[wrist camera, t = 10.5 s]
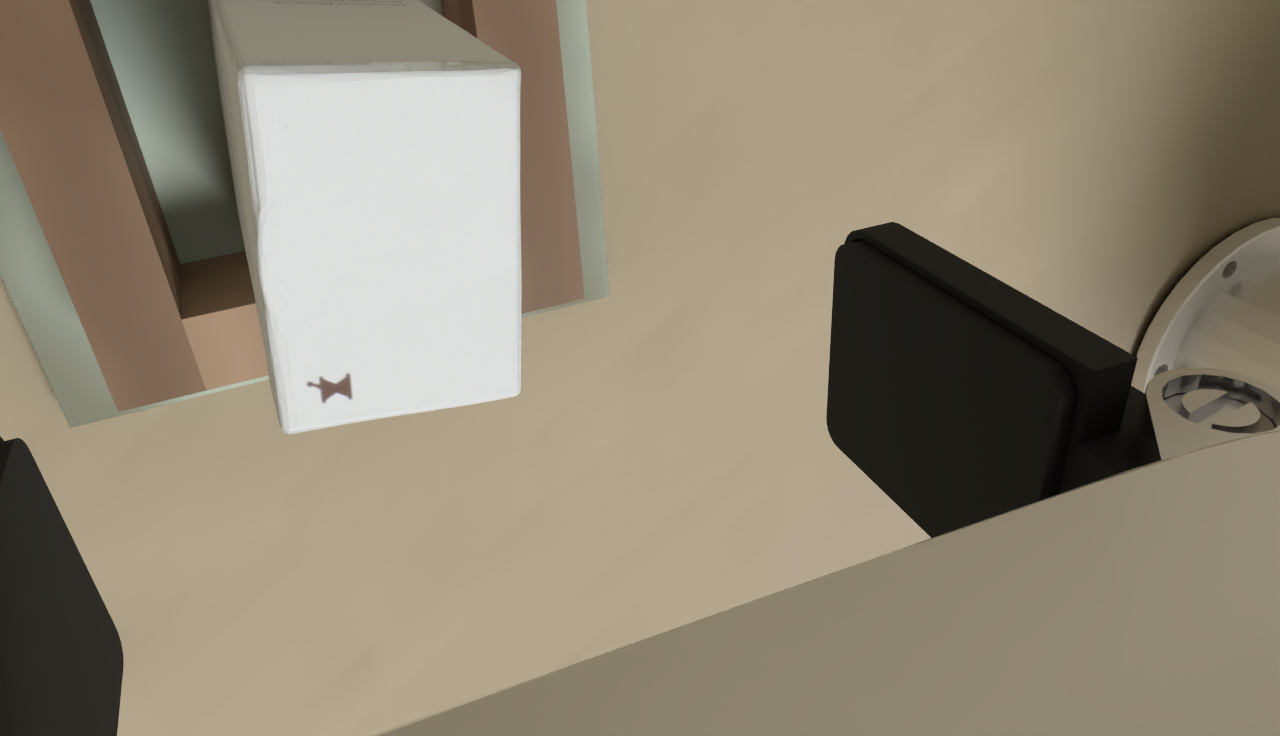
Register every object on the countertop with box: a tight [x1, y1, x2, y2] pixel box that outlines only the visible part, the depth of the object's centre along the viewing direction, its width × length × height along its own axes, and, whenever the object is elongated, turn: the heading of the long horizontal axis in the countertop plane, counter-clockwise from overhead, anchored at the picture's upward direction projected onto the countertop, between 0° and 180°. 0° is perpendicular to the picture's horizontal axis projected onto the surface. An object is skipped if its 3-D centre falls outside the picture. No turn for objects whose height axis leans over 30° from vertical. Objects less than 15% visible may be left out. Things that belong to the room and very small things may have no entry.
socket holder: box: [0, 0, 610, 428], centre depth 23 cm, size 16×16×4 cm
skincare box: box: [208, 0, 522, 434], centre depth 19 cm, size 6×4×12 cm
